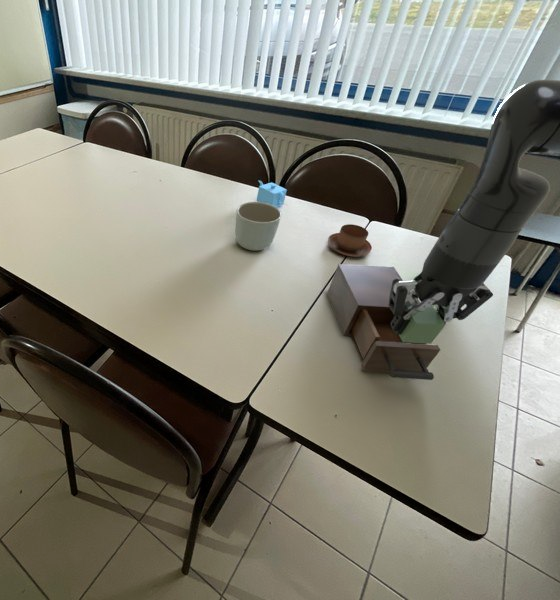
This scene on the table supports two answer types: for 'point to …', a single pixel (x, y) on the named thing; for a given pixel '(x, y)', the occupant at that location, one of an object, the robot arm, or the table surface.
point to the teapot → (271, 194)
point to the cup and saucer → (350, 241)
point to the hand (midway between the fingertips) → (412, 331)
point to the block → (423, 327)
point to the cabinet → (359, 291)
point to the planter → (256, 225)
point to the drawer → (390, 347)
